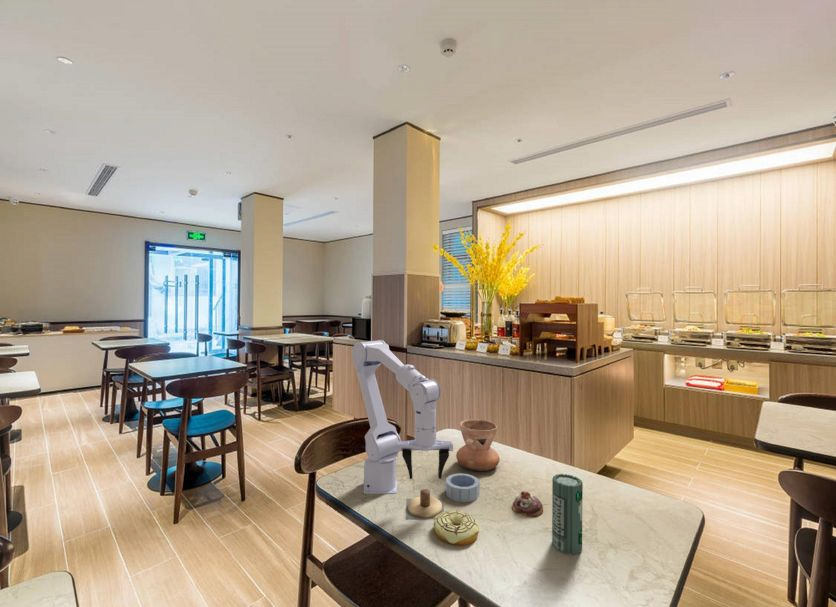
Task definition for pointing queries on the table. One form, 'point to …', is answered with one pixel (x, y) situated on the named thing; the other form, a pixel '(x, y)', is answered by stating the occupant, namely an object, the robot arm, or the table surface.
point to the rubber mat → (410, 516)
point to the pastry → (527, 505)
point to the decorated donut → (456, 527)
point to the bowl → (462, 487)
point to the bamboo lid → (425, 505)
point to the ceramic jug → (478, 445)
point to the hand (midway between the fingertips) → (425, 477)
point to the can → (567, 513)
